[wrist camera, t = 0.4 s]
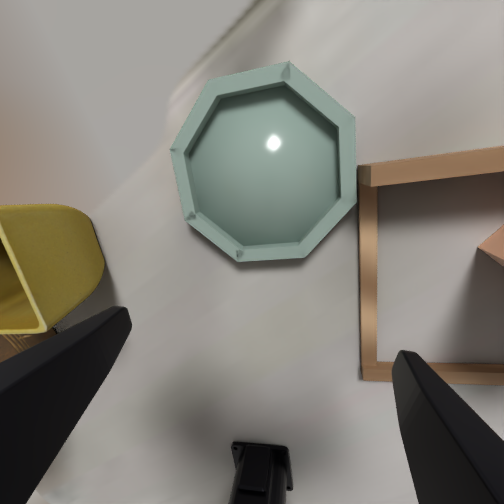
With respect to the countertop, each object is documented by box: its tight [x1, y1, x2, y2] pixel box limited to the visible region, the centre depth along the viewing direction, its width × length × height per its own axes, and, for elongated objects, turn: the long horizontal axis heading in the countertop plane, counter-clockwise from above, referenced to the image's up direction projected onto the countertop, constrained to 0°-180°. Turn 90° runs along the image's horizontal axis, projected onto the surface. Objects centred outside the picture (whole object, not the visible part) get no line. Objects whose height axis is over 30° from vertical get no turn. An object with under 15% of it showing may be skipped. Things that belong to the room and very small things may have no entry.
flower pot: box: [0, 204, 105, 334], centre depth 21 cm, size 9×9×9 cm
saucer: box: [170, 61, 357, 262], centre depth 19 cm, size 13×13×2 cm
